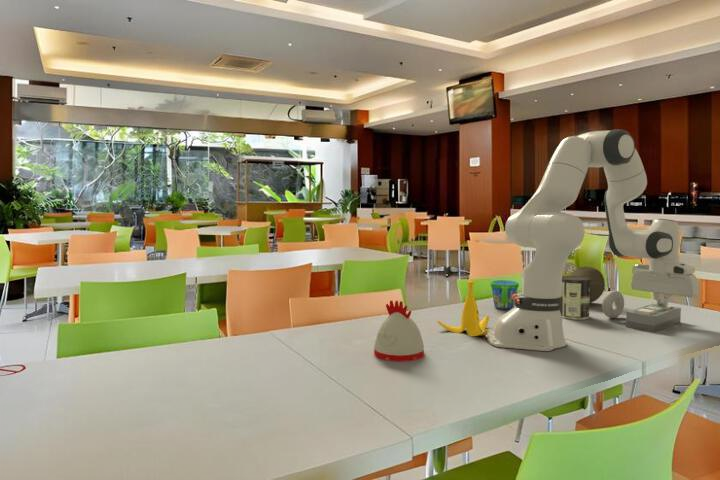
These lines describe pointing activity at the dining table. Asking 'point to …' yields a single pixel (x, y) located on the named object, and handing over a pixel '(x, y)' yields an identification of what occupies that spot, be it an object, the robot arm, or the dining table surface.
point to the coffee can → (575, 297)
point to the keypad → (653, 319)
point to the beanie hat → (398, 336)
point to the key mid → (655, 308)
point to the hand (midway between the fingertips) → (662, 306)
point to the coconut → (592, 281)
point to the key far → (664, 307)
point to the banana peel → (470, 317)
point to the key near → (646, 311)
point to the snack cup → (504, 293)
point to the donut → (608, 306)
